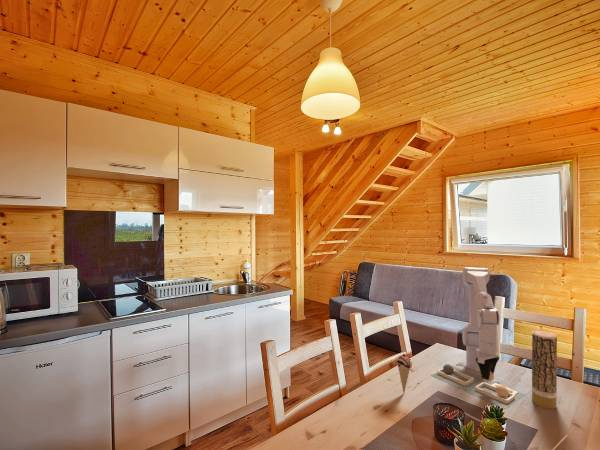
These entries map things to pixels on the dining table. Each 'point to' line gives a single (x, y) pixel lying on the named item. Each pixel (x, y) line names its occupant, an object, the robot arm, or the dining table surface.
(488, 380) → the tan ball
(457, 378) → the sorting board
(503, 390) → the tan ball
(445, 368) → the charcoal ball
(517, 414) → the dining table surface
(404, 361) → the ice cream cone
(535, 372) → the bark log
